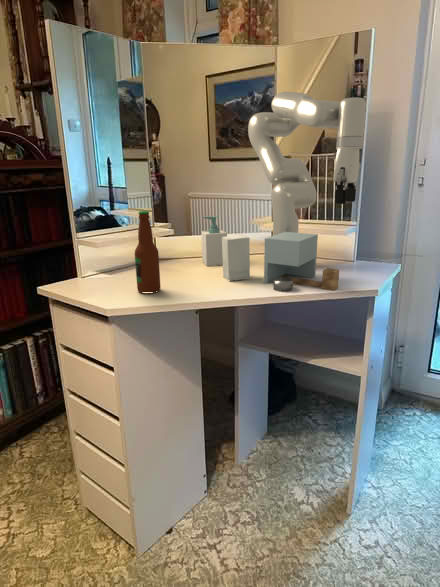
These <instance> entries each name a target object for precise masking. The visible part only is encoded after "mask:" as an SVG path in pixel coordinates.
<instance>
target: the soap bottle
mask: <svg viewBox="0 0 440 587" xmlns="http://www.w3.org/2000/svg"><path fill="white" fill-rule="evenodd" d="M217 218H219V215H216V216H202V219H205V220H206V219H207V220H211V224H210V226H209V227H210V228H208V230H201V256H202V258H201V259H202V260H201V262H202V261H203V262H204V263H203V262H202V263H203V264H204V265H205V266H206V267H213V266H212V265H217V266H223V255H222V237H228V233H227V232H226V231H224V230H222V229H220V228H219V227H218V224H216V222H217Z"/></svg>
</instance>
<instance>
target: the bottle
mask: <svg viewBox="0 0 440 587" xmlns="http://www.w3.org/2000/svg"><path fill="white" fill-rule="evenodd" d="M137 214H138V219H139V223H138V233H137V239H138V244H137V246H136V247H135V250H134V263H135V276H136V288H137V291H138V292H139V291H140V292H156V291H158V292H159V291H160V290H161V289H162V288H161V274H160V259H159V258H160V255H159V254H160V253H159V249H158V247H157V246H156V245H155V243H154V240H153V239H154V238H153V230H152V227H151V223H150V222H151V221H150V219H151V218H150V211H148V210H141V211H138V213H137ZM140 292H139V293H140ZM156 293H157V292H156Z"/></svg>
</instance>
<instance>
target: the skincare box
mask: <svg viewBox="0 0 440 587" xmlns="http://www.w3.org/2000/svg"><path fill="white" fill-rule="evenodd" d="M250 238H251V237H249V236H247V235H244V234H237V235H230V236H229V235H227V237H222V255H223V265H222V277H223V278H224V279H225V278H226V279H227V280H226V279H225V280H226V281H228V280H235V281H240V280H241V279H242V280H249V279H250V278H251V276H250V274H251V272H250V271H251V270H250V268H251V267H250V266H251V265H250V263H251V262H250V259H251V257H250ZM242 280H241V281H242Z"/></svg>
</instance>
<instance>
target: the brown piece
mask: <svg viewBox="0 0 440 587" xmlns="http://www.w3.org/2000/svg"><path fill="white" fill-rule="evenodd" d="M279 278H288V279H292V280H293V285H299V286H305V287H310V288H320V289H321V290H327V291H333V292H334V291H335V290H337V289H338V288H339V282H340V269H337V268H331V267H326V268H325V269H323V270H322V277H321V278H322V279H321V280H320V281H319V280H314V279H307V278H298V277H292V276H286V275H285V276H284V275H282V276H280V277H279Z"/></svg>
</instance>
